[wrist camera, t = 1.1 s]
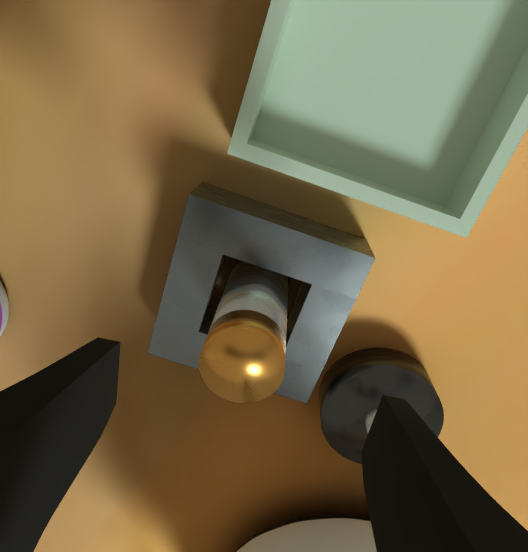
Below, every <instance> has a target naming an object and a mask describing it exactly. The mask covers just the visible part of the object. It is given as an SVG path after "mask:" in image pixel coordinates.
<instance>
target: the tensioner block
mask: <svg viewBox="0 0 528 552" xmlns="http://www.w3.org/2000/svg"><path fill="white" fill-rule="evenodd" d="M225 255H226V256H229V257H232V258H235V259H238V260H241V261H244V262H247V263H250V264H253V265H256V266H259V267H262V268H265V269H268V270H271V271H274V272H277V273H280V274H283V275H286V276H289V277H292V278H295V279H298V280H301V281H303V283H302V285H301V288H300V290H299V293H298V295H297V298H296V300H295V302H294V305H293V307H292V310H291V312H290V315H289V317H288V320H287V329H286V351H285V373H284V378H283V381H282V383H281V385H280V386H279V388H278V389H277V390H276V391H275V392H274V394H277V395H281V396H284V397H287V398H290V399H293V400H296V401H299V402H303V403H306V404H307V402H308V400H309V397H310V395H311V393H312V391H313V389H314V387H315V385H316V383H317V380H318V378H319V376H320V374H321V372H322V370H323V368H324V366H325V364H326V361H327V359H328V357H329V355H330V353H331V351H332V349H333V347H334V345H335V342H336V340H337V338H338V336H339V334H340V332H341V330H342V328H343V325H344V323H345V321H346V319H347V317H348V315H349V313H350V311H351V309H352V306H353V304H354V302H355V300H356V298H357V296H358V294H359V292H360V290H361V287H362V285H363V283H364V281H365V279H366V277H367V275H368V273H369V270H370V268H371V266H372V264H373V262H374V260H375V256H374V254H373V252H372V250H371V248H370V246H369V244H368V242H367V239H364V238H362V237H359V236H356V235H353V234H350V233H347V232H344V231H341V230H338V229H336V228H333V227H330V226H327V225H324V224H321V223H318V222H315V221H312V220H310V219H307V218H304V217H301V216H298V215H295V214H292V213H289V212H286V211H284V210H281V209H278V208H275V207H272V206H269V205H266V204H263V203H260V202H258V201H255V200H252V199H249V198H246V197H243V196H240V195H237V194H234V193H231V192H229V191H226V190H223V189H220V188H217V187H214V186H211V185H208V184H205V183H203V182H202V183H200V184H199V185H198V186H197V187H196V188H195V189H194V190H193V191H192V192H191V193H190V194H189V196H188V200H187V204H186V208H185V212H184V215H183V219H182V223H181V227H180V231H179V234H178V238H177V242H176V246H175V250H174V253H173V257H172V261H171V265H170V269H169V272H168V276H167V280H166V284H165V288H164V291H163V295H162V299H161V303H160V307H159V310H158V314H157V318H156V322H155V326H154V329H153V333H152V337H151V341H150V345H149V348H148V352H147V353H148V354H152V355H155V356H158V357H161V358H164V359H167V360H170V361H174V362H177V363H180V364H183V365H186V366H189V367H192V368H196V369H199V365H198V364H199V357H200V353H201V351H202V348H203V345H204V343H205V340H206V337H207V335H208V332H209V329H210V327H211V324H212V321H213V319H214V316H215V313H216V310H217V309H214V308H211V307H209V305H210V302H211V299H212V295H213V292H214V289H215V286H216V283H217V280H218V276H219V273H220V270H221V267H222V264H223V261H224V257H225ZM382 395H387V396H392V397H397V398H402V399H405V400H406V401H407V402H408V403H409V404H410V405H411V406H412V408H413V409H414V410H415V411H416V412H417V413H418V415H419V416H420V417H421V418H422V419H423V421H424V422H425V423H426V424H427V425H428V427H429V428H430V429H431V430H432V431H433V433H434V434H435V435H436V436H437V437H438V436H439V434H440V432H441V429H442V426H443V420H444V413H443V407H442V404H441V401H440V399H439V397H438V395H437V393H436V391H435V389H434V386H433V384H432V382H431V380H430V378H429V376H428V374H427V372H426V370H425V369H424V368H423V366H422V365H421V364H420V363H419V362H418V361H416V360H415V359H414V358H412V357H410V356H409V355H407V354H405V353H402V352H400V351H396V350H392V349H386V348H370V349H364V350H360V351H356V352H353V353H351V354H349V355H347V356H345V357H343V358H341V359H340V360H339V361H337V362H336V363H335V364H334V365H333V366H332V367H331V368H330V369H329V370H328V371H327V373H326V374H325V376H324V378H323V380H322V383H321V386H320V391H319V400H320V413H321V425H322V430H323V434H324V436H325V438H326V440H327V441H328V443H329V444H330V445H331V447H332V448H333V449H334V450H335V451H337V452H338V453H339V454H341V455H342V456H344V457H345V458H347V459H349V460H351V461H354V462H357V463H360V464H362V449H363V446H364V443H365V441H366V438H367V435H368V433H369V430H370V427H371V425H372V422H373V419H374V417H375V414H376V411H377V409H378V406H379V403H380V401H381V398H382Z"/></svg>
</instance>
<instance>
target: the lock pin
mask: <svg viewBox="0 0 528 552" xmlns="http://www.w3.org/2000/svg"><path fill="white" fill-rule="evenodd" d="M287 307H288V279H287V276H286V275H283V274H280V273H277V272H274V271H271V270H268V269H265V268H262V267H259V266H256V265H253V264H250V263H247V262H244V261H241V262H240V263H238V264H237V265H236V266H235V267H234V268H233V270H232V271H231V273H230V276H229V278H228V281H227V284H226V286H225V289H224V292H223V294H222V297H221V300H220V302H219V305H218V308H217V310H216V313H215V316H214V319H213V321H212V324H211V327H210V329H209V332H208V335H207V337H206V340H205V343H204V345H203V348H202V351H201V353H200V357H199V364H198V365H199V372H200V375H201V378H202V380H203V381H204V383H205V384H206V386H207V387H208V388H209V389H210V390H211V391H212V392H213V393H215V394H216V395H218V396H219V397H221V398H223V399H226V400H228V401H232V402H237V403H252V402H257V401H261V400H263V399H265V398H267V397H269V396H270V395H272V394H273V393H274V392H275V391H276V390H277V389H278V388H279V386H280V385H281V383H282V381H283V378H284V373H285V351H286V329H287Z"/></svg>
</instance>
